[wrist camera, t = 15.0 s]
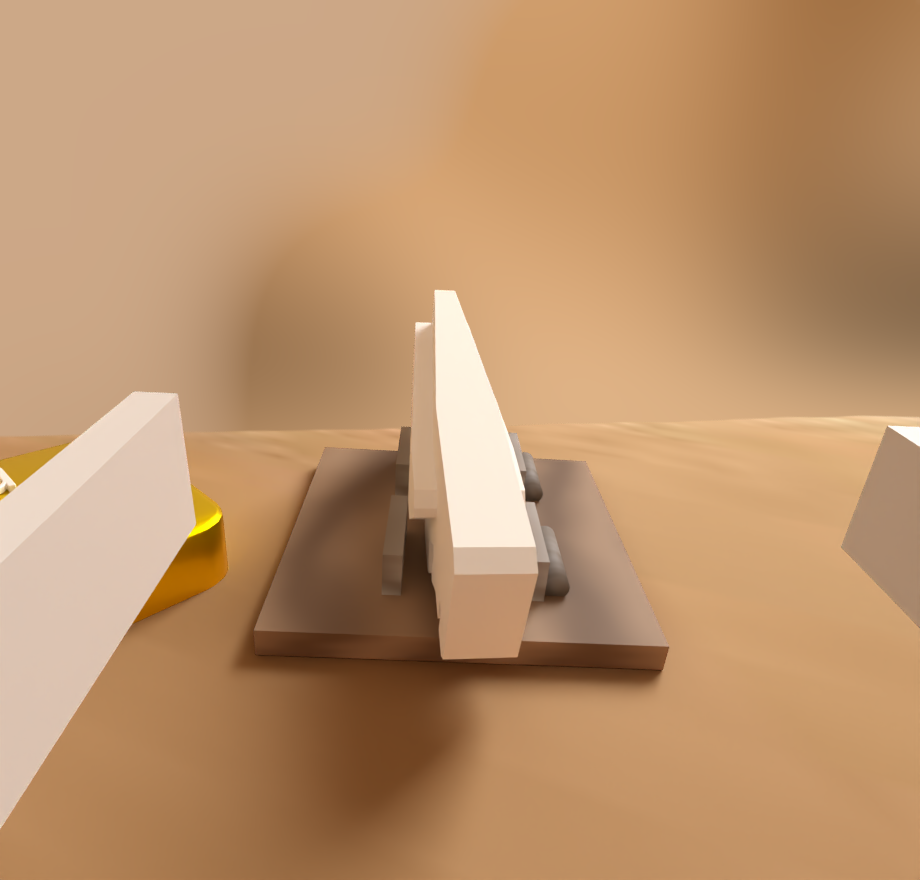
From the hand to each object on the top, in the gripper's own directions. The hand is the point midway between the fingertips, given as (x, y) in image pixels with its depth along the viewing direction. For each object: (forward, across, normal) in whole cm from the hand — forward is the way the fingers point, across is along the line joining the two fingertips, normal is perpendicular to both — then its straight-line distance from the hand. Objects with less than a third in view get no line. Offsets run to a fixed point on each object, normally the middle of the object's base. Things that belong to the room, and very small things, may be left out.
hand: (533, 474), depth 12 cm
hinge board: (+23, 0, -18) cm, 29 cm away
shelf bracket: (+22, -1, -16) cm, 28 cm away
